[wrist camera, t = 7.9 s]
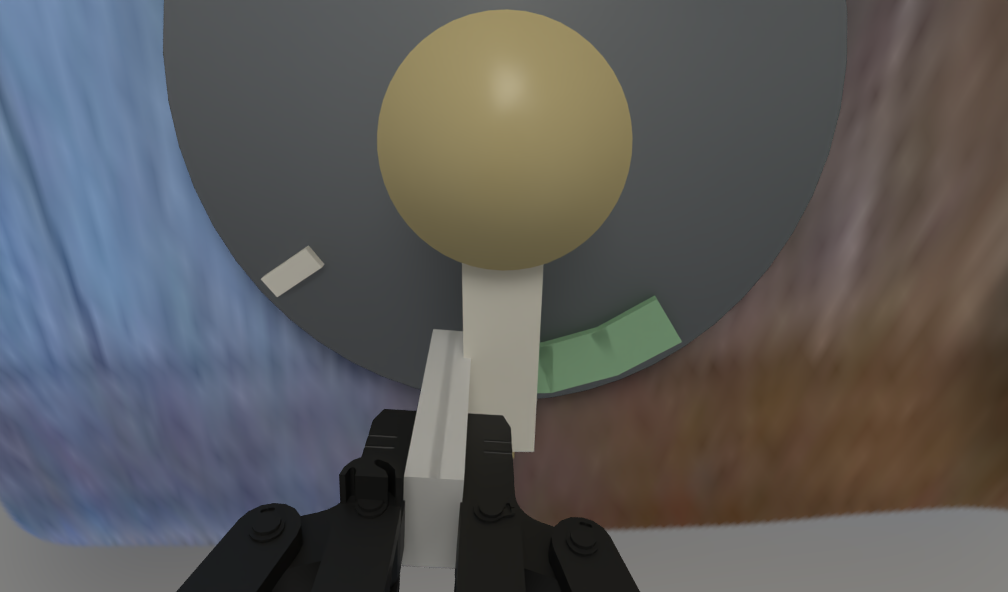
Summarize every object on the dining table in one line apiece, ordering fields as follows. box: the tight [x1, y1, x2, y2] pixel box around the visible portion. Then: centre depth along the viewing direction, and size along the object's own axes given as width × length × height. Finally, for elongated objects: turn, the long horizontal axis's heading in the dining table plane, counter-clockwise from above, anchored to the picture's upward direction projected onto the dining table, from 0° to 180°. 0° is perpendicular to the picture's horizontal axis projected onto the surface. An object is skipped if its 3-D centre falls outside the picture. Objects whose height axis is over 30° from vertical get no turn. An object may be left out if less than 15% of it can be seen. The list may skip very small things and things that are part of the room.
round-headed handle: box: [377, 9, 633, 458], centre depth 16 cm, size 13×6×4 cm, turn 179°
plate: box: [163, 0, 847, 399], centre depth 17 cm, size 20×20×2 cm
